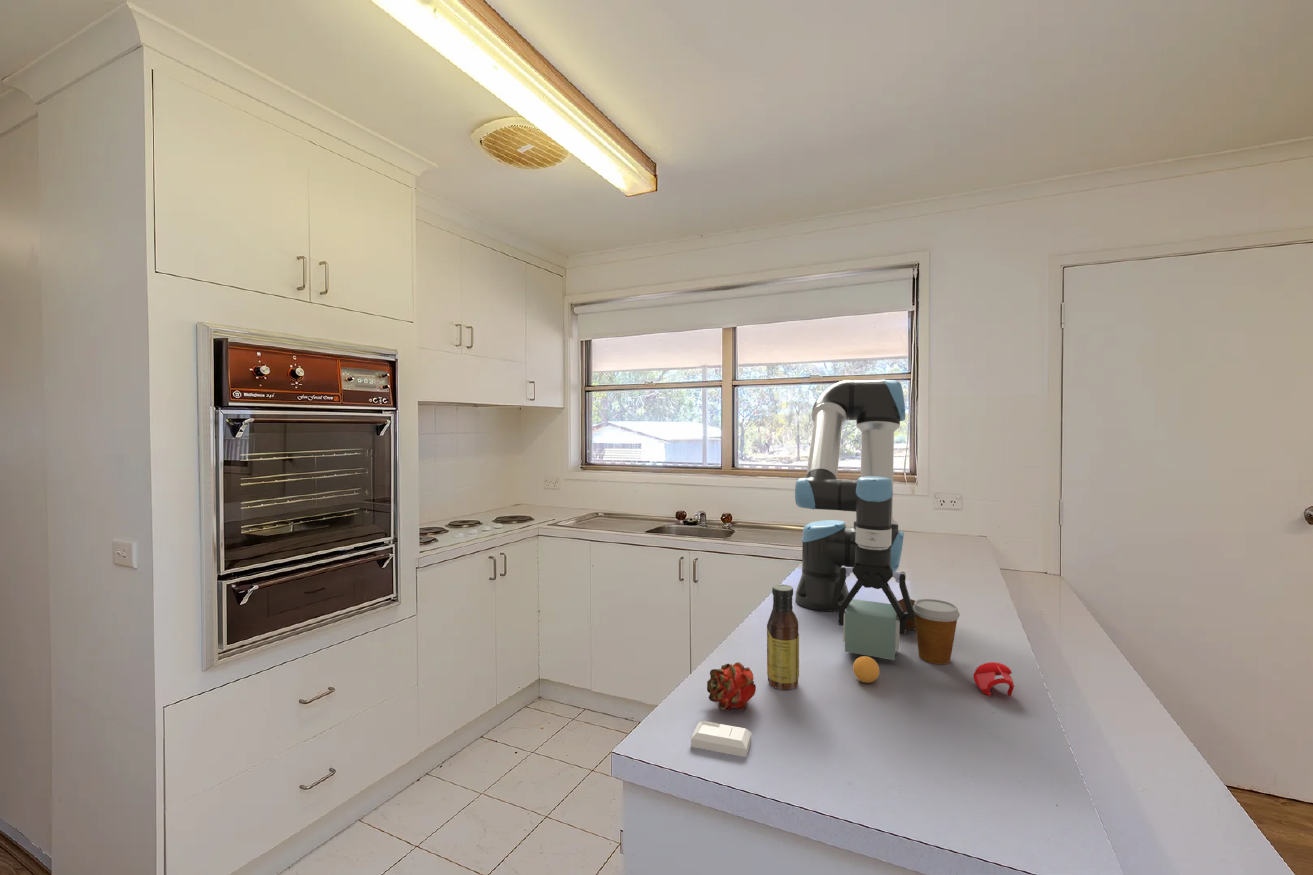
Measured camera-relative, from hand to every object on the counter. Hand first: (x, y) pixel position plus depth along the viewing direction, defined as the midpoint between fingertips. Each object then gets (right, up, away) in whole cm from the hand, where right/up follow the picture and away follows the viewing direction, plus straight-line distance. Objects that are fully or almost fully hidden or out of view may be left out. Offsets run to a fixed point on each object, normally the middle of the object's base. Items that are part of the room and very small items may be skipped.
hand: (870, 643), depth 129 cm
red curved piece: (+18, -3, -17) cm, 25 cm away
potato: (+14, -2, +14) cm, 20 cm away
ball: (-6, 0, -13) cm, 15 cm away
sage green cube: (0, -1, 0) cm, 1 cm away
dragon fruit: (-34, -3, -22) cm, 41 cm away
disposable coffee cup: (+13, -3, -2) cm, 14 cm away
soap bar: (-38, -4, -35) cm, 52 cm away
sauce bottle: (-23, -3, -15) cm, 27 cm away
